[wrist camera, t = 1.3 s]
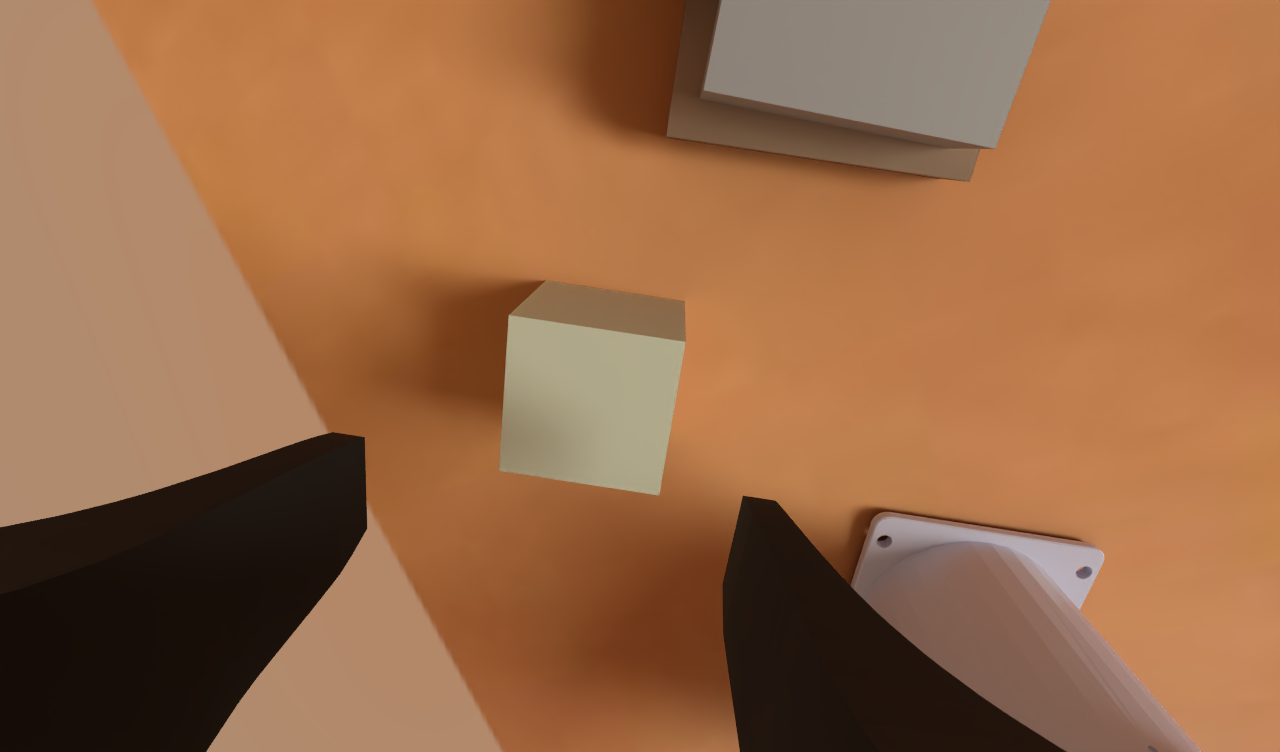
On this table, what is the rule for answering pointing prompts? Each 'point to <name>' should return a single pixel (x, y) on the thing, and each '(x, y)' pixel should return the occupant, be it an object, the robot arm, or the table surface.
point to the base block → (788, 121)
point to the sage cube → (591, 386)
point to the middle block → (877, 64)
